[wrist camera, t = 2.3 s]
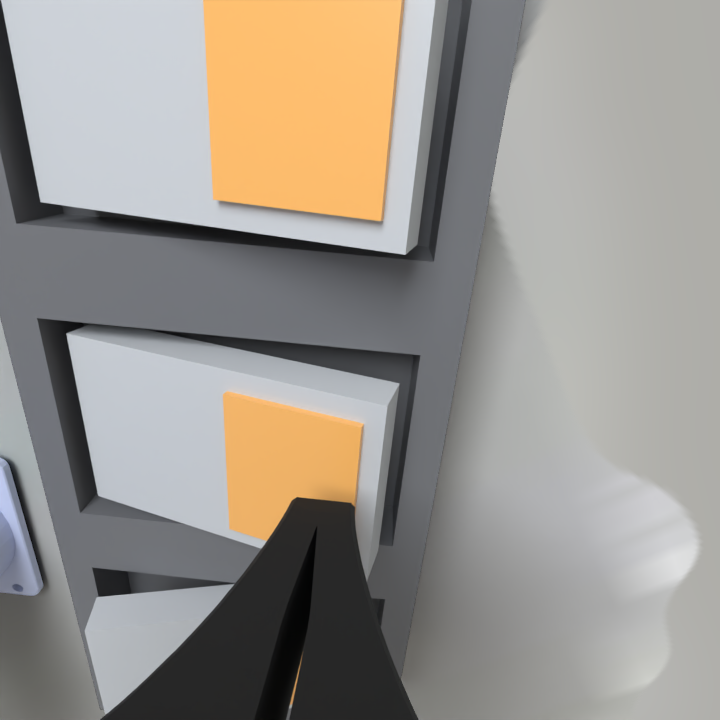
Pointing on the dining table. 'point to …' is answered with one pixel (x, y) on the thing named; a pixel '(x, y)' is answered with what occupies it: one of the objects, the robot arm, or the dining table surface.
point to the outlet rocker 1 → (230, 432)
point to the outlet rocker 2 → (143, 634)
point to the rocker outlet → (235, 111)
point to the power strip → (254, 327)
